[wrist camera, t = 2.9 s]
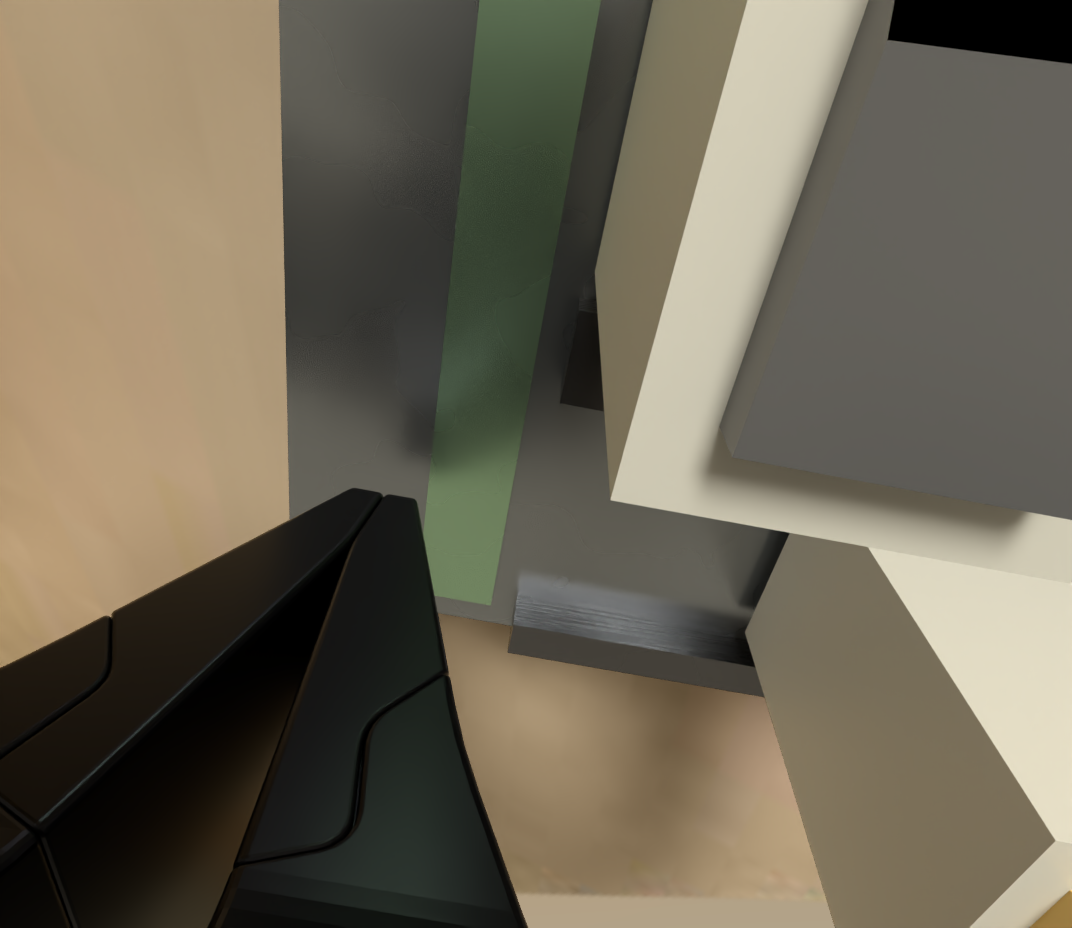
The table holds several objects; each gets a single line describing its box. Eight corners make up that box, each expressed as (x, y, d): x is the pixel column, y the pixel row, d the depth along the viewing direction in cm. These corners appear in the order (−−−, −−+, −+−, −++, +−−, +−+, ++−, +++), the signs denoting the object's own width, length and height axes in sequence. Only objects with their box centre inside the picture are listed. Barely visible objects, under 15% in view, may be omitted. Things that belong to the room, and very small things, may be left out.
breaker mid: (908, 6, 6) (1860, -281, 2) (793, 310, 8) (1109, 624, 3) (662, -46, 6) (906, -497, 2) (593, 271, 8) (612, 535, 3)
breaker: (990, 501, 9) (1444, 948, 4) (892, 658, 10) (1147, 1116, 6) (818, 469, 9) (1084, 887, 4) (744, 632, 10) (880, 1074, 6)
